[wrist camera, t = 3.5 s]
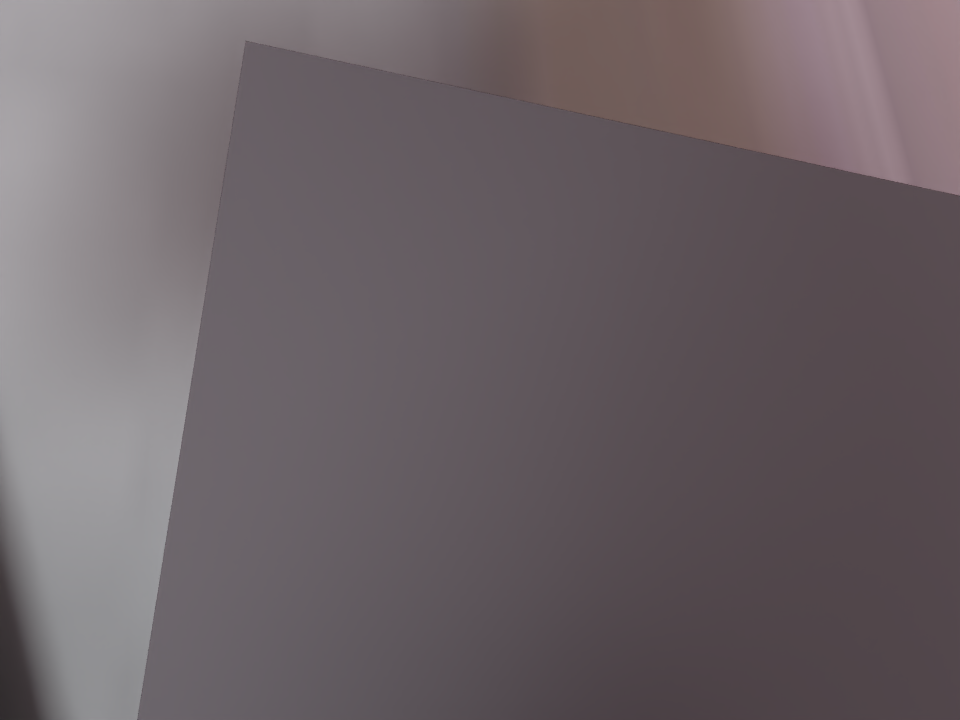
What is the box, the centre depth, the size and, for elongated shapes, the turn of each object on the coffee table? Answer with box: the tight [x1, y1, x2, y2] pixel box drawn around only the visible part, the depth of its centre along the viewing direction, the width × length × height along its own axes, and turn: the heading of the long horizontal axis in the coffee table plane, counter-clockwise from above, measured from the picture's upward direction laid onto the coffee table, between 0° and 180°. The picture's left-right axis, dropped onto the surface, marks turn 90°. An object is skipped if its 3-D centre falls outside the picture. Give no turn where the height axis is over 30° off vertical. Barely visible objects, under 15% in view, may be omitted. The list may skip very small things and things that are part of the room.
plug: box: [137, 41, 960, 720], centre depth 9 cm, size 5×4×13 cm
